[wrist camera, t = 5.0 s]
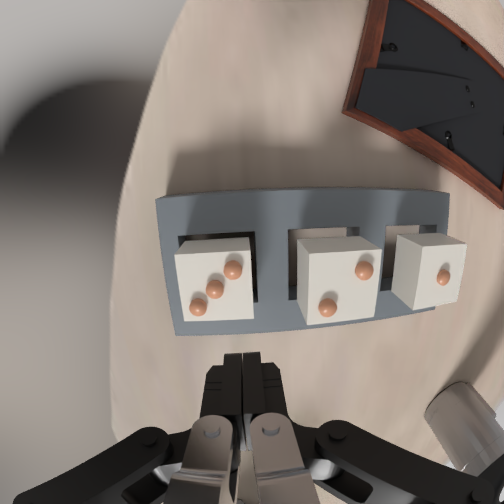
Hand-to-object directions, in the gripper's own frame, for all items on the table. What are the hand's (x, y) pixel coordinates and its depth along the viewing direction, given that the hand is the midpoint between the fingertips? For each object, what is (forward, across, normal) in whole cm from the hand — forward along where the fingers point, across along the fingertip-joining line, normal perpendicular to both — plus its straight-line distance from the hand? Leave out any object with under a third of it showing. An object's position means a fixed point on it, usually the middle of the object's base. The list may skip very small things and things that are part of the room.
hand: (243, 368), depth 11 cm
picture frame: (+15, -25, -18) cm, 34 cm away
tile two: (+11, -7, 0) cm, 13 cm away
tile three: (+12, +2, -1) cm, 12 cm away
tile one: (+11, -15, 0) cm, 19 cm away
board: (+15, -7, 0) cm, 16 cm away
